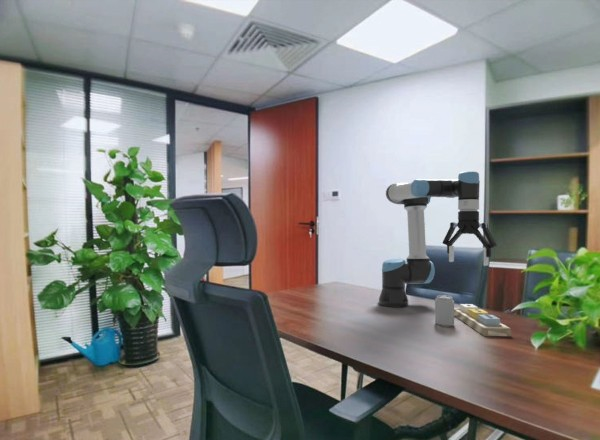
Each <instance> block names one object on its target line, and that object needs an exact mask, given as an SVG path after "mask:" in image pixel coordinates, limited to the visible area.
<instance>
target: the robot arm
mask: <svg viewBox="0 0 600 440" xmlns="http://www.w3.org/2000/svg"><path fill="white" fill-rule="evenodd" d="M385 197H386V199H387V200H388V201H389V202H390V203H392V204H395V205H403V209H404V210H405V211H407V212H406V213H407V232H408V237H407V238H408V256H407V257H406V259H404V258H392V259H387V260H385V261H383V262H382V268H381V274H382V275H381V283H382V284H381V291H380V295H379V297H378V304H379V305H381V306H384V307H391V308H406V307H408V306H409V298H408V295H407V292H406V285H407V284H408V285H409V284H410V285H412V284H413V285H415V284H421V285H423V284H430V283H431V282H432V281H433V279H434V276H435V273H436V271H435V270H436V269H435V266H434V263H433V262H432V261H431V260H430V257H429V256H428V255H427V247H426V246H427V244H426V243H427V241H426V226H425V225H426V224H425V210H426V208H427V207H428V205H429V204H430V203H431V199H432V198H449V199H450V198H452V199H453V198H458V201H457V202H458V203H457V207H458V208H457V209H458V212H457V219H458V220H457V222H455V221H454V222H453V221H452V222H450V224H449V229H448V231H447V232H446V235H445V237H444V239H443V241H442V245H445V246H446V253H447V254H448V262H449V263H453V262H455V246H454V243H455V242H456V241H457V240H458V239H460V237H461V236H462V235H463V234H467V235H475V236H476V238H477V239H478V241H479V242H480V243H481V244H482V245H483V246H484V248H483V265H482V266H484V267H487V266H490V265H489V261H490V260H489V259H490V258H491V257H492V249H493V248H497V246H498V245H497V243H496V241H495V239H494V237H493V235H492V234H491V231H490V229H489V223H487V222H482V223H480V212H479V211H478V210H480V174H479V172H477V171H462V172H459V173H458V177H457V179H437V178H436V179H433V178H432V179H428V178H427V179H426V178H419V179H418V178H417V179H414V180H413V181H411V182H396V183H392V184H390V185H389V186H388V187H386V190H385ZM456 228H458V229H457V231H456V233H455V234H454V232H455V230H456ZM479 228H481V229H482V231H483V233H484V235H483V234H482V233H481V231H479ZM453 234H454V235H453ZM484 236H485V237H484Z"/></svg>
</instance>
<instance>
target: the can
mask: <svg viewBox="0 0 600 440" xmlns="http://www.w3.org/2000/svg"><path fill="white" fill-rule="evenodd" d="M454 308H455V300H454V299H453V296H451V295H445V294H439V295H436V298H434V322H435V323H436V324H437V325H438V326H439V327H445V328H448V327H452V326H454V325H455V316H454Z"/></svg>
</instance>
